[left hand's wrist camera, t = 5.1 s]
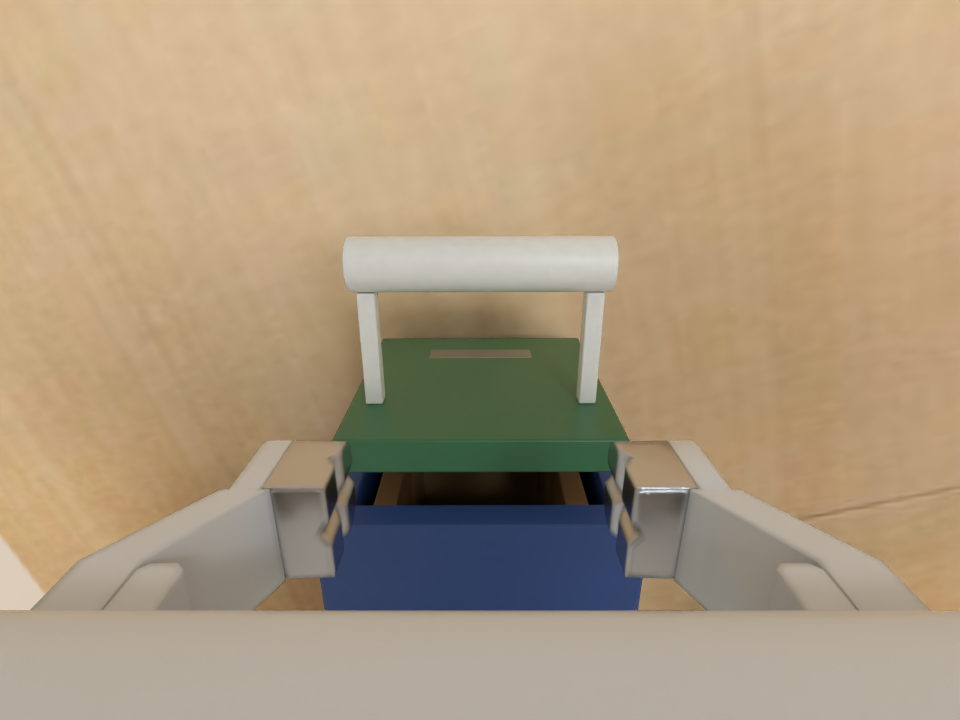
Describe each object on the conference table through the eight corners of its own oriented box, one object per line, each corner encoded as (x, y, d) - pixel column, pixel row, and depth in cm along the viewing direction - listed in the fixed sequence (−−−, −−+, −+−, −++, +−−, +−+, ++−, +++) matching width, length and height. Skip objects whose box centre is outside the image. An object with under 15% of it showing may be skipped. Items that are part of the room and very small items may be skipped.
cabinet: (377, 375, 27) (310, 526, 16) (583, 375, 27) (651, 525, 16) (400, 660, 35) (365, 891, 24) (561, 660, 35) (598, 891, 24)
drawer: (373, 212, 23) (307, 253, 14) (587, 211, 23) (653, 252, 14) (404, 631, 32) (376, 813, 23) (557, 631, 32) (586, 812, 23)
